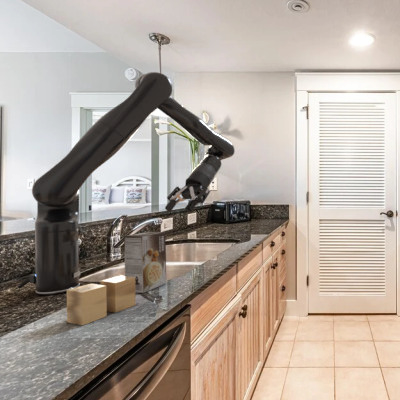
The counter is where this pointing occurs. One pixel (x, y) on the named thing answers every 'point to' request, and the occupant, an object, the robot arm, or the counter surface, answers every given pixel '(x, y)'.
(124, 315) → the counter surface
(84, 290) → the maple block near
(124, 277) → the maple block middle
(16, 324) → the counter surface
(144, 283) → the printed cardboard box
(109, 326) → the counter surface
